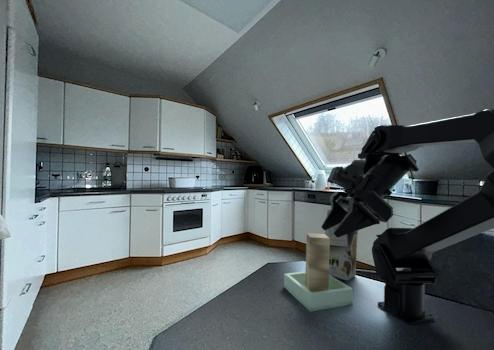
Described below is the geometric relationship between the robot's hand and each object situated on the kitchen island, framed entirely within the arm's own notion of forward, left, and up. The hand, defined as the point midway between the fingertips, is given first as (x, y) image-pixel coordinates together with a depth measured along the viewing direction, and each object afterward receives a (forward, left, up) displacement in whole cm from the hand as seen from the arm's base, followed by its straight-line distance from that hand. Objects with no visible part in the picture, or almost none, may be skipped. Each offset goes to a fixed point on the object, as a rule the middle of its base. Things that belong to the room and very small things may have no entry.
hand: (328, 231), depth 47 cm
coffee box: (-10, -7, -13) cm, 18 cm away
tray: (+2, -1, -14) cm, 14 cm away
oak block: (+2, -1, -13) cm, 13 cm away
